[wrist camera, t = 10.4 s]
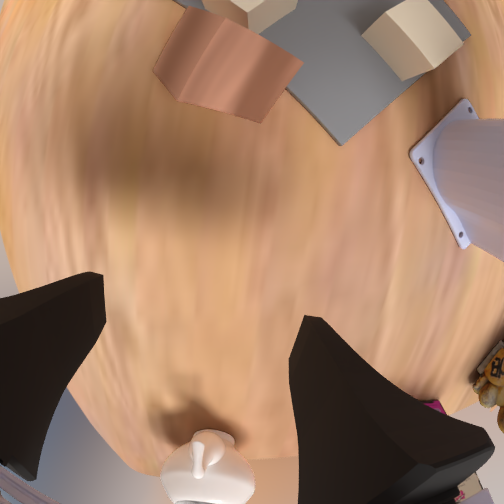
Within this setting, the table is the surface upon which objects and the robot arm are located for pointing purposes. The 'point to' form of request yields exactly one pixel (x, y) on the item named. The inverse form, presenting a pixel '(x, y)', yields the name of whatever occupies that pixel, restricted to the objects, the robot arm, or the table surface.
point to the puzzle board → (350, 50)
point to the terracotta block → (224, 66)
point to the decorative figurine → (492, 382)
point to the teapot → (208, 471)
